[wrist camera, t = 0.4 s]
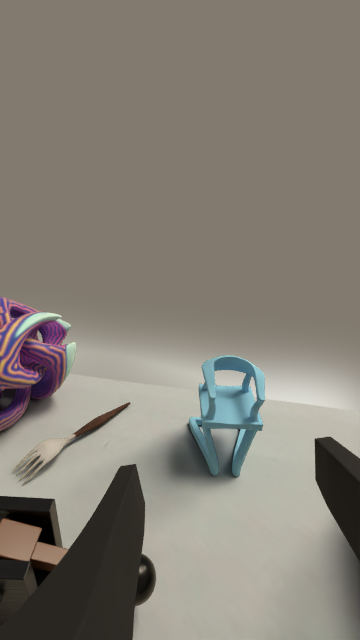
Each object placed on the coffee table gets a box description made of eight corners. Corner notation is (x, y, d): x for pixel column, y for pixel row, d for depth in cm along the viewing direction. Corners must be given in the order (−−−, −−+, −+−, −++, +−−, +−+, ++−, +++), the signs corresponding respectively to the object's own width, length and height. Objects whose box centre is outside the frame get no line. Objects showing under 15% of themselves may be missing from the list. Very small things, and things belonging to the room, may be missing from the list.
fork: (124, 394, 45) (122, 405, 46) (11, 458, 33) (11, 470, 34) (136, 405, 44) (134, 415, 45) (23, 475, 32) (23, 487, 33)
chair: (191, 475, 35) (202, 391, 30) (188, 421, 43) (197, 346, 37) (259, 478, 36) (281, 395, 30) (244, 423, 43) (260, 349, 38)
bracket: (88, 558, 27) (81, 493, 23) (65, 655, 22) (51, 591, 18) (-5, 554, 27) (-27, 487, 23) (-52, 650, 22) (-91, 585, 18)
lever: (149, 569, 25) (163, 550, 24) (144, 617, 22) (160, 599, 21) (-1, 532, 23) (6, 508, 22) (-26, 580, 20) (-19, 557, 19)
